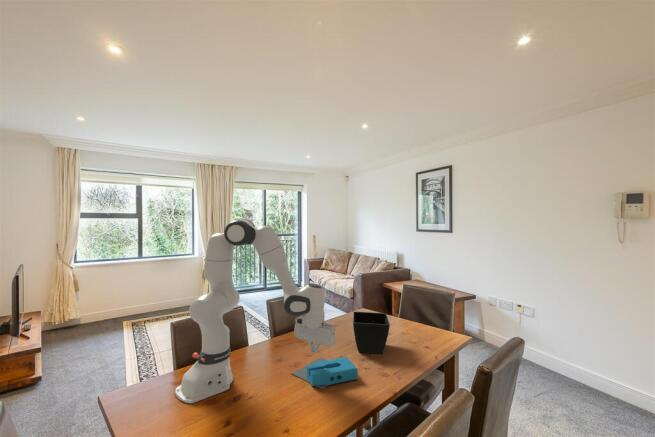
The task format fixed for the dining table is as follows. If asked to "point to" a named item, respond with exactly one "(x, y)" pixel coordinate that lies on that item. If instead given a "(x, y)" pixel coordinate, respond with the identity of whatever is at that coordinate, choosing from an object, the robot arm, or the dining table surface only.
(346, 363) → the block
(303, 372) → the charcoal mat
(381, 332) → the flower pot
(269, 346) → the dining table surface
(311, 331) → the robot arm
